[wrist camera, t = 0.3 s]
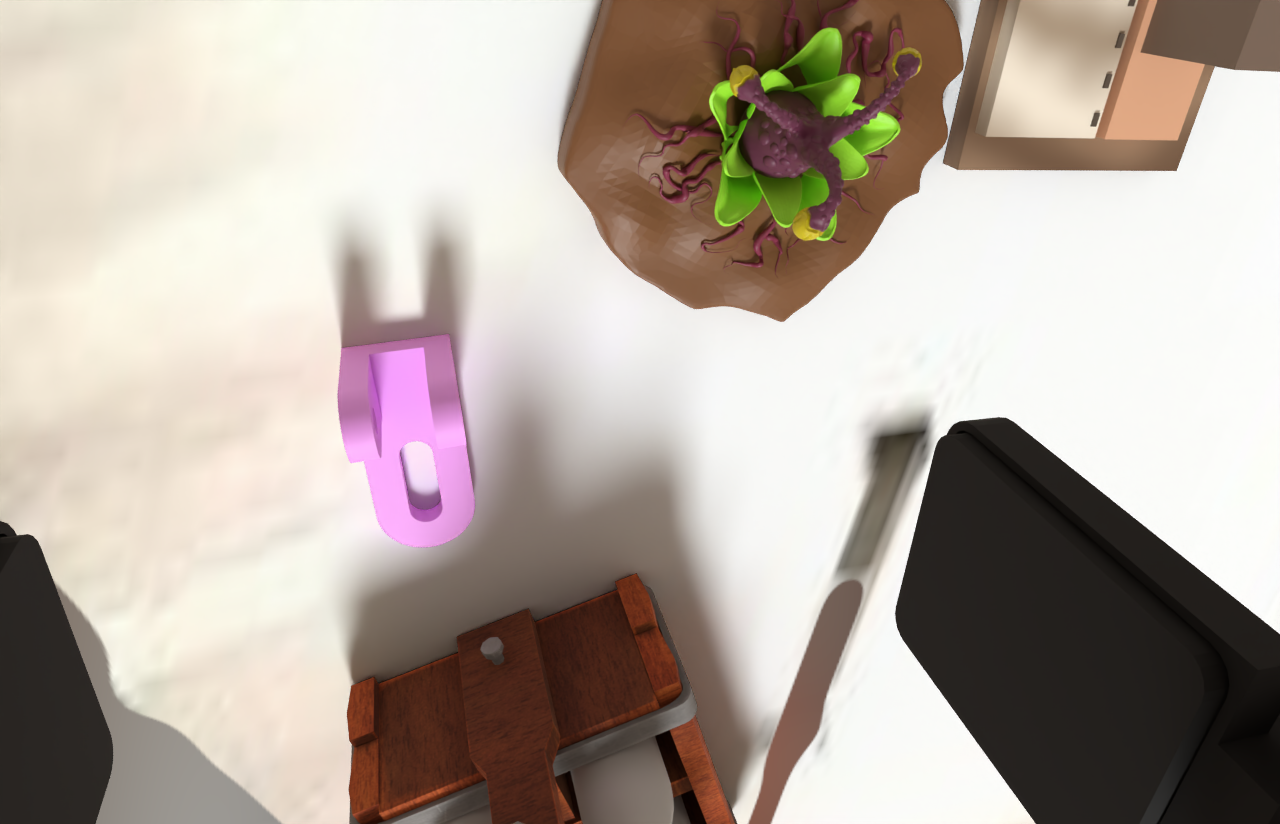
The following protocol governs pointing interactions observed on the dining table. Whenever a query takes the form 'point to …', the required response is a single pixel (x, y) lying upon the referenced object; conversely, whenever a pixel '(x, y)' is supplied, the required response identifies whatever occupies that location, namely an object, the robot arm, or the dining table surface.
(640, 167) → the plant
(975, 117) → the board
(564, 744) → the milk bottle holder
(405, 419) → the bracket
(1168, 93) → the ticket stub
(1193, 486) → the dining table surface
